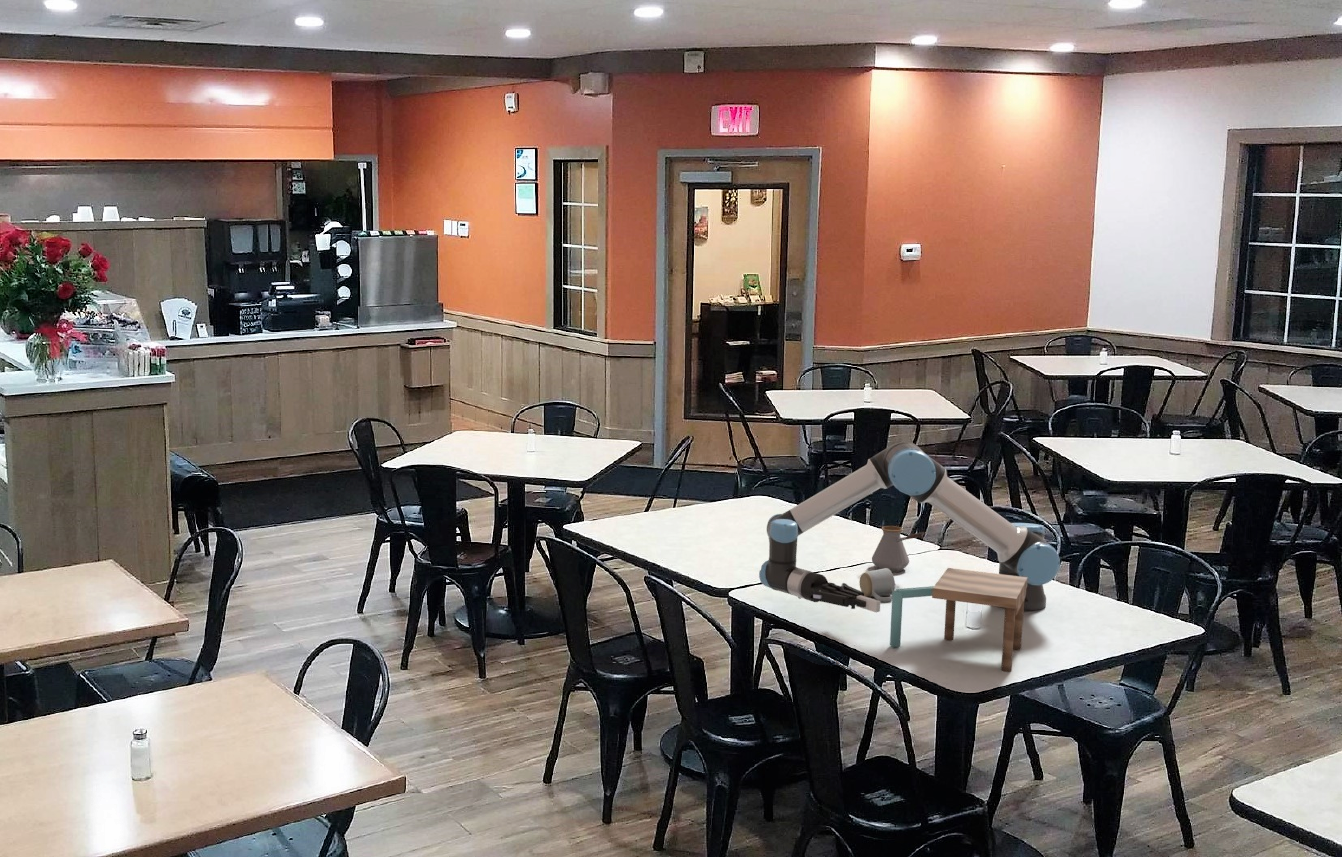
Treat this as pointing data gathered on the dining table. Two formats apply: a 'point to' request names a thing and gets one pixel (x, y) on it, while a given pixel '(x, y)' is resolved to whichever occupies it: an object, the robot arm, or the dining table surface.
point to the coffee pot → (892, 549)
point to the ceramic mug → (878, 584)
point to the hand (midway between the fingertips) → (878, 606)
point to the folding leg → (897, 609)
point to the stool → (985, 602)
